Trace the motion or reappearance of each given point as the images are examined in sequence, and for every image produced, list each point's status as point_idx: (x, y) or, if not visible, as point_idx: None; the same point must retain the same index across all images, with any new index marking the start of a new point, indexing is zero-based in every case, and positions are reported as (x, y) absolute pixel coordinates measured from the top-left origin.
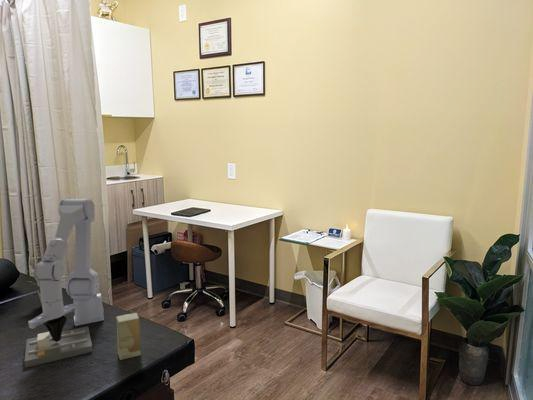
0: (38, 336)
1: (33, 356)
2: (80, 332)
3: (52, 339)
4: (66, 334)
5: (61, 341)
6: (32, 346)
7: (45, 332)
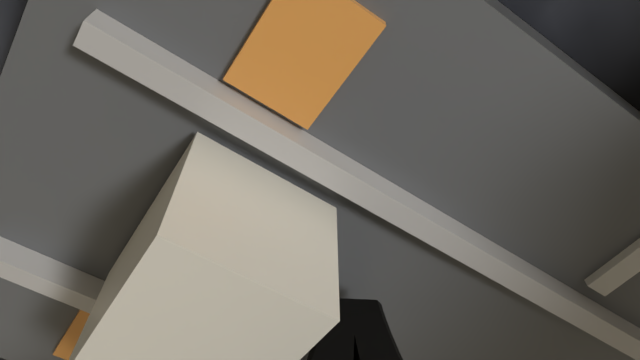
0: (124, 314)
1: (18, 323)
2: (636, 357)
3: (374, 202)
4: (534, 285)
5: (394, 311)
6: (95, 122)
7: (282, 296)
